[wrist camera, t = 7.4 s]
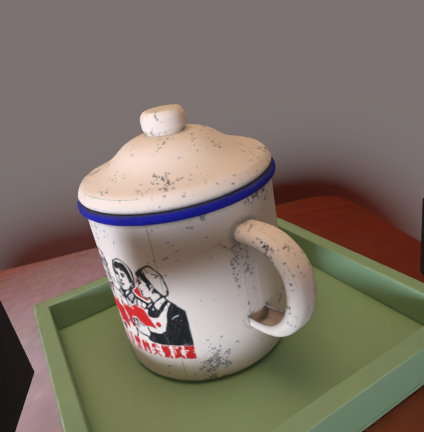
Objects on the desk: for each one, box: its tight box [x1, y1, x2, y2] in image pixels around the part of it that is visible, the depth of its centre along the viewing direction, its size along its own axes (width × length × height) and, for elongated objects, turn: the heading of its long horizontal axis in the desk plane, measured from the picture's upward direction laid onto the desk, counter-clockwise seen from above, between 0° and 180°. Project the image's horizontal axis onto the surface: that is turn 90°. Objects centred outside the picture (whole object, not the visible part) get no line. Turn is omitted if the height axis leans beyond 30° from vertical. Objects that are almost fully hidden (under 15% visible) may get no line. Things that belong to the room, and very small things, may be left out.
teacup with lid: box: [78, 104, 317, 381], centre depth 19 cm, size 12×9×12 cm
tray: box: [33, 217, 424, 432], centre depth 21 cm, size 16×17×2 cm
